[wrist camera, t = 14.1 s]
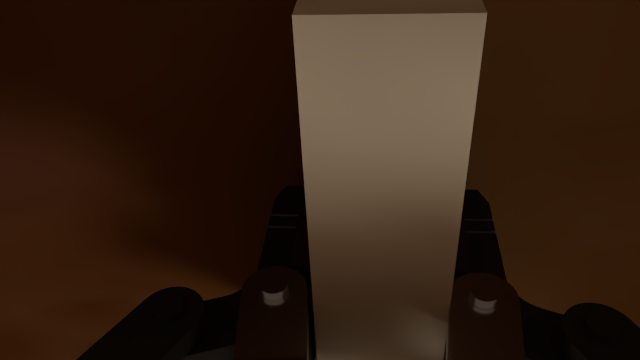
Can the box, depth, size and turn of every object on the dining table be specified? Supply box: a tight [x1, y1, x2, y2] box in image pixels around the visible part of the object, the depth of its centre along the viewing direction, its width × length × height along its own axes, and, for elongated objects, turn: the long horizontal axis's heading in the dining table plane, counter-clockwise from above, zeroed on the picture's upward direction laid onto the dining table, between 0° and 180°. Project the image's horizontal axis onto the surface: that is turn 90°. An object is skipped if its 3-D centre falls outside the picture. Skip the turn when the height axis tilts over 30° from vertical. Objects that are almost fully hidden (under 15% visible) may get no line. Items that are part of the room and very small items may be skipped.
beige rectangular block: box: [292, 0, 487, 360], centre depth 13 cm, size 11×6×5 cm, turn 2°
